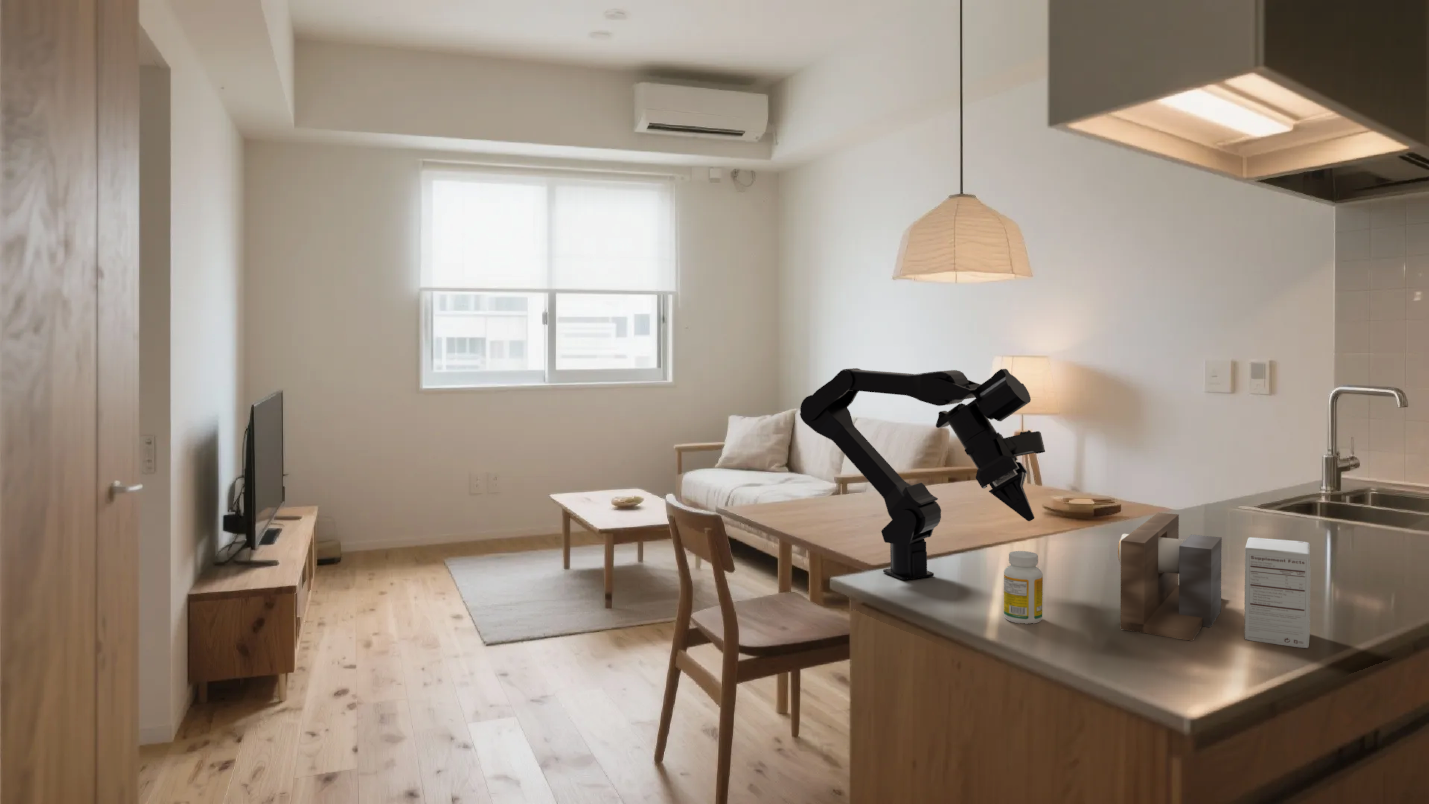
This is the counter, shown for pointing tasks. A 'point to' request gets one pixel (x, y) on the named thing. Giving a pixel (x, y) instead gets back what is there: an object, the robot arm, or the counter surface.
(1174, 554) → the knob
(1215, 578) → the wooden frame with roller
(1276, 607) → the supplement box
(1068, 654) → the counter surface
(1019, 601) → the supplement bottle
